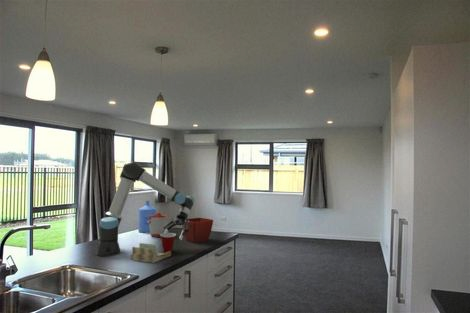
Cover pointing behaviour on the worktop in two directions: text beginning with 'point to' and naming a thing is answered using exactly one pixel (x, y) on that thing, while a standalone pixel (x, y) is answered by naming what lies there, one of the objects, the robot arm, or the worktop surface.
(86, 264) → the worktop surface
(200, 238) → the plant pot
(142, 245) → the pusher
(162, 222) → the citrus juicer
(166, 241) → the plastic cup
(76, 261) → the worktop surface
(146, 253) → the wooden tray
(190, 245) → the worktop surface
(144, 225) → the water jug
